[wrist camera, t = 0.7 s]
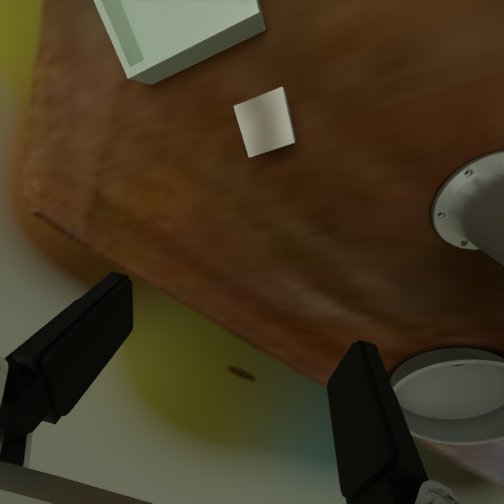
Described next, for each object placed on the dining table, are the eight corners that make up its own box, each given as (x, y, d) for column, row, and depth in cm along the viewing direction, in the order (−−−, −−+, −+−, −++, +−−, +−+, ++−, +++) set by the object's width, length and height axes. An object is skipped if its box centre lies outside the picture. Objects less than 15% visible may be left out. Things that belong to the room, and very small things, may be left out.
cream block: (286, 95, 29) (282, 86, 22) (295, 138, 31) (294, 142, 24) (248, 110, 31) (233, 106, 24) (259, 150, 33) (248, 157, 26)
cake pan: (564, 384, 42) (591, 411, 38) (442, 434, 54) (453, 458, 50) (457, 317, 40) (474, 338, 36) (354, 385, 52) (358, 406, 48)
